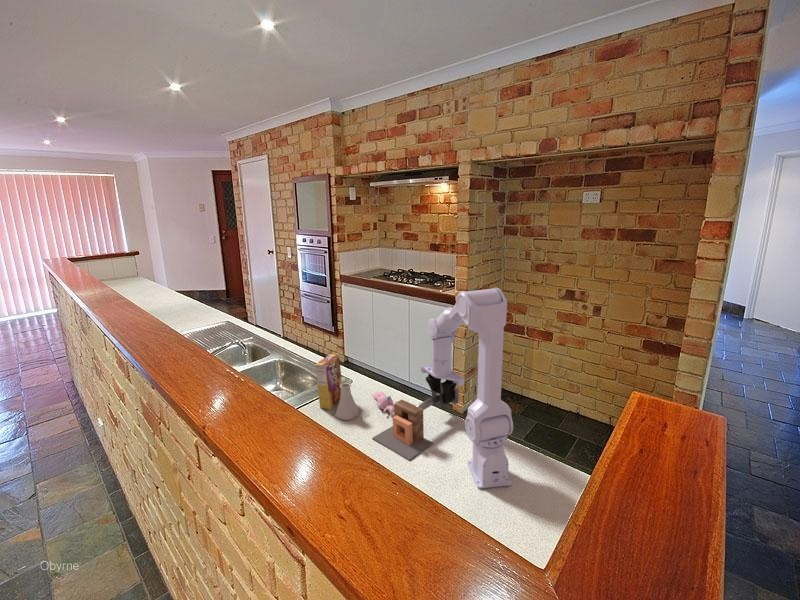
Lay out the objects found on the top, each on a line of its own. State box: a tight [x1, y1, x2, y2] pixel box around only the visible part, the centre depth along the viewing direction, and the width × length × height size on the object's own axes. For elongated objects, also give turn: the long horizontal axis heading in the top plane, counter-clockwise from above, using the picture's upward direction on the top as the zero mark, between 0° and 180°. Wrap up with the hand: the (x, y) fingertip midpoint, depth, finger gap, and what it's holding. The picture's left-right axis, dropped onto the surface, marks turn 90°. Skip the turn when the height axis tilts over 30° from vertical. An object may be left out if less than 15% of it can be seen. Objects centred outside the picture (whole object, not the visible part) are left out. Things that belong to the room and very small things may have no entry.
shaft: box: [406, 381, 459, 417], centre depth 113 cm, size 18×7×4 cm, turn 135°
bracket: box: [393, 399, 425, 444], centre depth 107 cm, size 3×8×9 cm, turn 46°
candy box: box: [315, 354, 343, 410], centre depth 127 cm, size 9×4×15 cm, turn 160°
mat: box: [371, 425, 434, 461], centre depth 107 cm, size 10×14×1 cm
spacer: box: [392, 415, 413, 445], centre depth 106 cm, size 2×6×6 cm, turn 46°
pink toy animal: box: [371, 391, 395, 418], centre depth 123 cm, size 6×6×15 cm
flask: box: [334, 382, 360, 421], centre depth 120 cm, size 7×7×10 cm
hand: (441, 400), depth 117 cm, fingers closed on shaft, 3 cm apart
